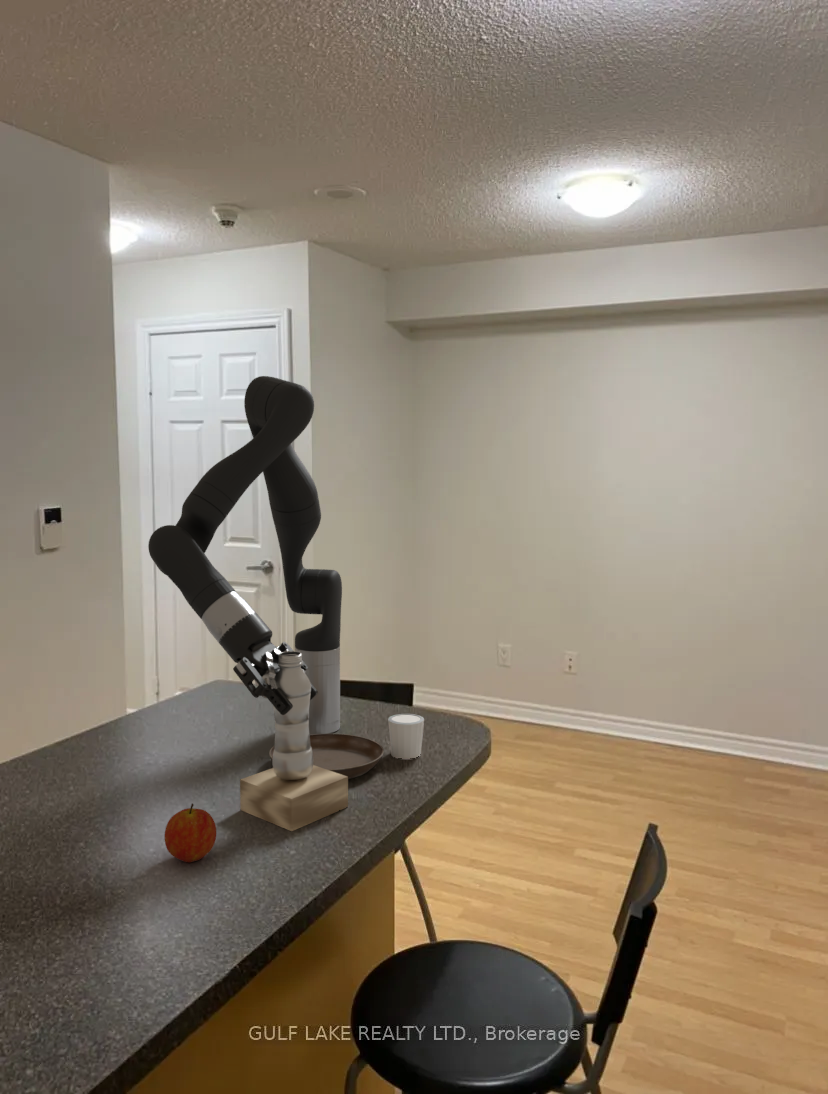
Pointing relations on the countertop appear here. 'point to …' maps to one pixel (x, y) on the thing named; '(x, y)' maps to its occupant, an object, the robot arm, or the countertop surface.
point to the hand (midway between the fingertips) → (301, 704)
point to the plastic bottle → (292, 720)
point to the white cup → (406, 735)
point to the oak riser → (294, 797)
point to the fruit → (190, 834)
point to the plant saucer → (344, 753)
